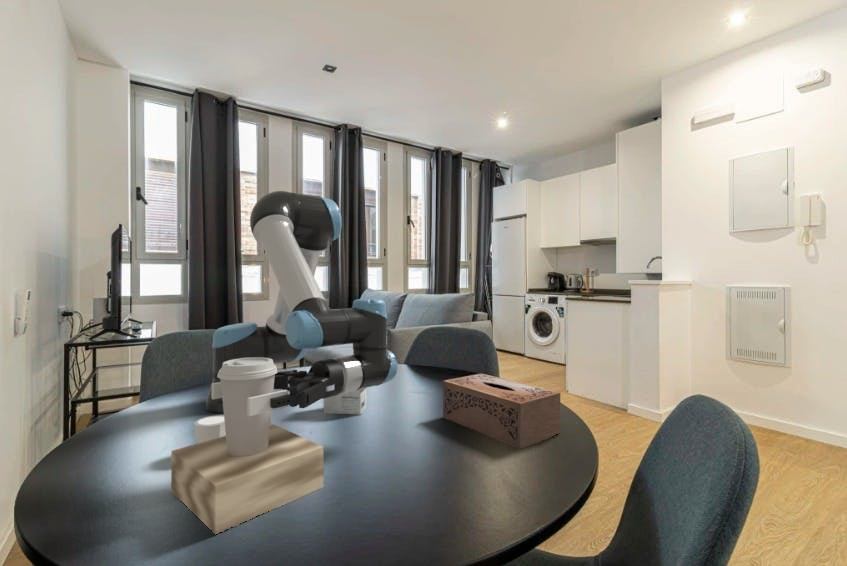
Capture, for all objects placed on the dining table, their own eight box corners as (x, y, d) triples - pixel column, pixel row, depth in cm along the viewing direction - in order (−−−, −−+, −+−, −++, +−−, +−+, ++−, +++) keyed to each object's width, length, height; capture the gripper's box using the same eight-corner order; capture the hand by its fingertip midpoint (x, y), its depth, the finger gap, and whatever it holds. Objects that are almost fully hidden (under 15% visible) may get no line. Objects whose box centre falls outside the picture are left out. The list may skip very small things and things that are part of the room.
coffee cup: (219, 442, 72) (219, 358, 72) (276, 434, 76) (276, 355, 76) (214, 464, 63) (214, 369, 63) (278, 455, 67) (279, 364, 67)
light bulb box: (367, 407, 115) (367, 369, 115) (361, 415, 109) (361, 375, 109) (330, 406, 116) (330, 369, 116) (322, 414, 110) (322, 374, 110)
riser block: (171, 492, 69) (171, 450, 69) (271, 457, 82) (271, 423, 82) (215, 535, 57) (215, 485, 57) (323, 487, 70) (323, 446, 70)
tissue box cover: (560, 435, 95) (560, 392, 95) (520, 450, 87) (520, 403, 87) (481, 408, 116) (481, 373, 116) (442, 418, 107) (443, 380, 107)
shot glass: (193, 463, 80) (193, 427, 80) (194, 450, 86) (194, 417, 86) (231, 456, 83) (231, 422, 83) (230, 444, 89) (230, 412, 89)
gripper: (375, 407, 75) (266, 440, 59) (300, 384, 91) (199, 406, 75) (375, 366, 75) (266, 389, 59) (300, 351, 91) (199, 365, 75)
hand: (228, 398), depth 67 cm, fingers open, 13 cm apart
